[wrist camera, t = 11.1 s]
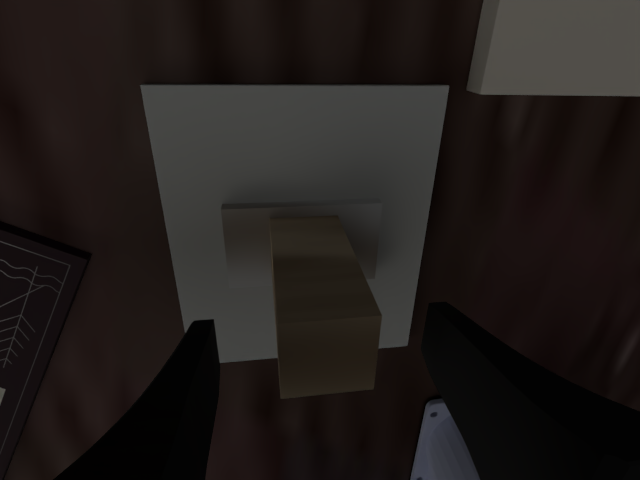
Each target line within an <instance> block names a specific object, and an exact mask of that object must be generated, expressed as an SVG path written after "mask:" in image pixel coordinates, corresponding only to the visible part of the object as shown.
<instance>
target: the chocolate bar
mask: <svg viewBox="0 0 640 480" xmlns="http://www.w3.org/2000/svg"><path fill="white" fill-rule="evenodd" d="M91 255H92V254H91V253H88V252H85V251H82V250H79V249H77V248H74V247H71V246H68V245H65V244H63V243H60V242H57V241H54V240H51V239H49V238H46V237H43V236H40V235H37V234H35V233H32V232H29V231H26V230H23V229H21V228H18V227H15V226H12V225H9V224H7V223H4V222H1V221H0V480H4V478H5V475H6V472H7V470H8V467H9V465H10V462H11V460H12V457H13V455H14V452H15V449H16V447H17V444H18V442H19V439H20V437H21V434H22V432H23V429H24V426H25V424H26V421H27V419H28V416H29V414H30V411H31V408H32V406H33V403H34V401H35V398H36V396H37V393H38V391H39V388H40V385H41V383H42V380H43V378H44V375H45V373H46V370H47V368H48V365H49V362H50V360H51V357H52V355H53V352H54V350H55V347H56V345H57V342H58V339H59V337H60V334H61V332H62V329H63V327H64V324H65V321H66V319H67V316H68V314H69V311H70V309H71V306H72V304H73V301H74V298H75V296H76V293H77V291H78V288H79V286H80V283H81V281H82V278H83V275H84V273H85V270H86V268H87V265H88V263H89V260H90V258H91Z"/></svg>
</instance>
